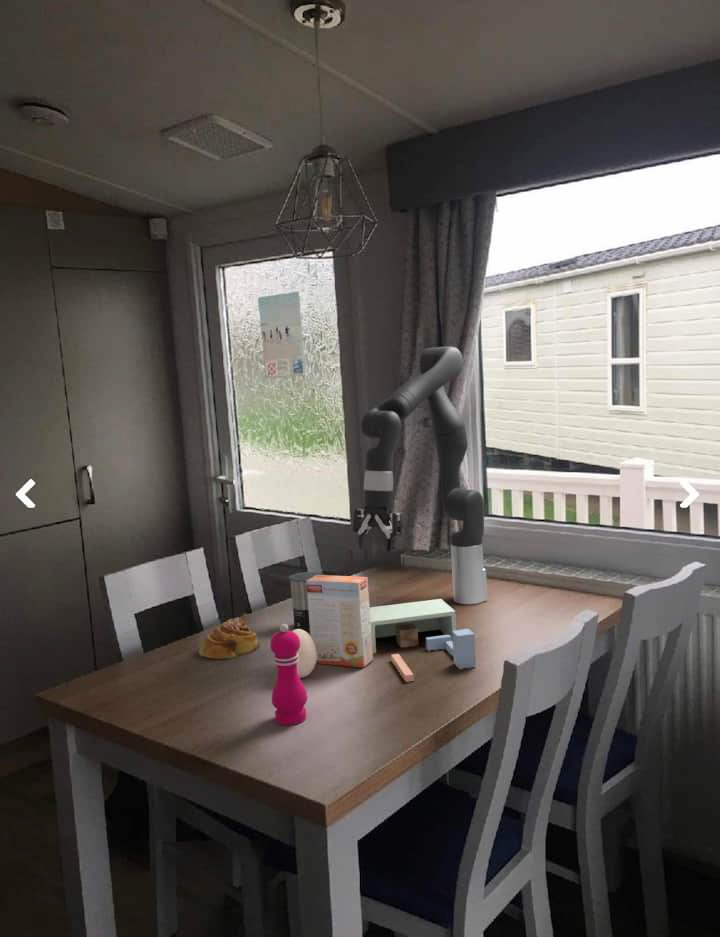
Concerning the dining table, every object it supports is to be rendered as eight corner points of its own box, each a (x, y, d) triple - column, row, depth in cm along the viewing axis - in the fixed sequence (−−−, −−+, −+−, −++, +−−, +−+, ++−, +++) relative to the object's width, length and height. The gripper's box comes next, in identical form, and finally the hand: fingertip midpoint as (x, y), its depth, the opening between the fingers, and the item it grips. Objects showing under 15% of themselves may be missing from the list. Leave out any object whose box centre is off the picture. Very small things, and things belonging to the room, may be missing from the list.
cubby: (442, 627, 214) (441, 598, 213) (456, 641, 203) (455, 611, 202) (362, 638, 210) (360, 608, 209) (372, 653, 198) (370, 622, 197)
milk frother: (287, 631, 219) (283, 579, 218) (311, 614, 234) (308, 564, 232) (334, 635, 214) (330, 581, 212) (356, 617, 228) (353, 566, 227)
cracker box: (374, 660, 193) (368, 575, 191) (363, 669, 188) (358, 582, 186) (322, 654, 199) (317, 573, 197) (311, 663, 194) (305, 579, 192)
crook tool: (475, 667, 185) (474, 633, 184) (446, 671, 183) (444, 637, 182) (454, 645, 200) (452, 614, 199) (426, 649, 199) (424, 618, 198)
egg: (276, 680, 185) (273, 632, 183) (298, 668, 191) (294, 622, 190) (303, 685, 180) (300, 637, 179) (325, 673, 187) (321, 626, 185)
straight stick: (399, 661, 192) (398, 653, 192) (413, 682, 179) (413, 674, 179) (391, 662, 192) (391, 654, 192) (406, 684, 178) (405, 675, 178)
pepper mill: (273, 713, 167) (266, 620, 164) (308, 709, 167) (301, 617, 165) (272, 728, 160) (265, 631, 157) (309, 724, 160) (301, 627, 158)
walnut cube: (413, 640, 206) (412, 623, 206) (418, 645, 202) (417, 628, 201) (396, 642, 205) (395, 625, 205) (401, 648, 201) (400, 630, 200)
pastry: (268, 646, 209) (266, 616, 208) (222, 664, 198) (219, 632, 197) (236, 637, 218) (234, 608, 217) (190, 653, 207) (188, 624, 206)
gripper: (409, 489, 205) (407, 553, 205) (366, 486, 214) (364, 547, 214) (391, 490, 199) (389, 555, 199) (348, 487, 208) (345, 549, 208)
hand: (376, 551), depth 207 cm, fingers open, 8 cm apart
